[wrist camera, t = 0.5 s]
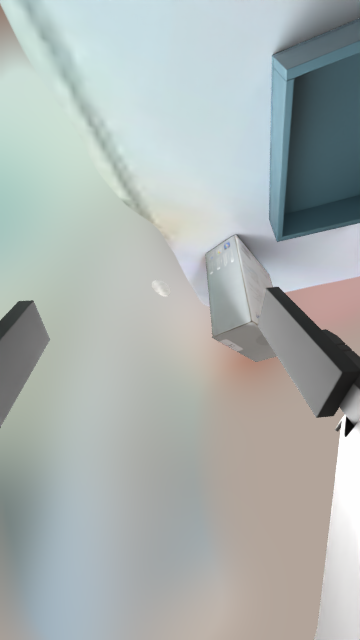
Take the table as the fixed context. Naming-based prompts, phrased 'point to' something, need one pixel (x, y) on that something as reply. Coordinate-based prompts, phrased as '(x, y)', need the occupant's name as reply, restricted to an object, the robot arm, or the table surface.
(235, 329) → the hard drive box
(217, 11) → the table surface
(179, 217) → the table surface
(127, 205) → the table surface
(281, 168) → the tray
